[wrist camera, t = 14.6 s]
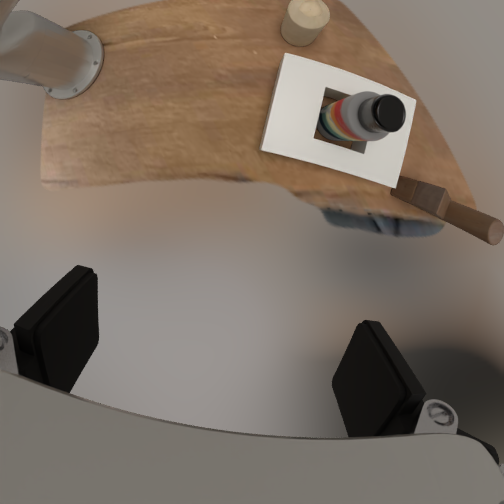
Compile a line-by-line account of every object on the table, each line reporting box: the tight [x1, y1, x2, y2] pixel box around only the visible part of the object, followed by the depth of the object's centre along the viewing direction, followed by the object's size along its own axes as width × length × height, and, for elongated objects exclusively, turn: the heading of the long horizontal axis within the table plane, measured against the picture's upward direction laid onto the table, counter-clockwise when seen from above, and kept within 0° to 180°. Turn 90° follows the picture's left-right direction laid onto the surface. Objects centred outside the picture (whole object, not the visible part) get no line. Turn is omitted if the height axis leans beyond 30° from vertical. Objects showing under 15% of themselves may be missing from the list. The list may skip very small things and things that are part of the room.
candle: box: [281, 0, 330, 47], centre depth 33 cm, size 6×6×10 cm
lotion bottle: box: [317, 91, 406, 141], centre depth 34 cm, size 6×6×20 cm
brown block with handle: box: [391, 176, 504, 245], centre depth 39 cm, size 4×11×18 cm, turn 72°
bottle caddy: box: [259, 53, 416, 189], centre depth 40 cm, size 20×14×6 cm
